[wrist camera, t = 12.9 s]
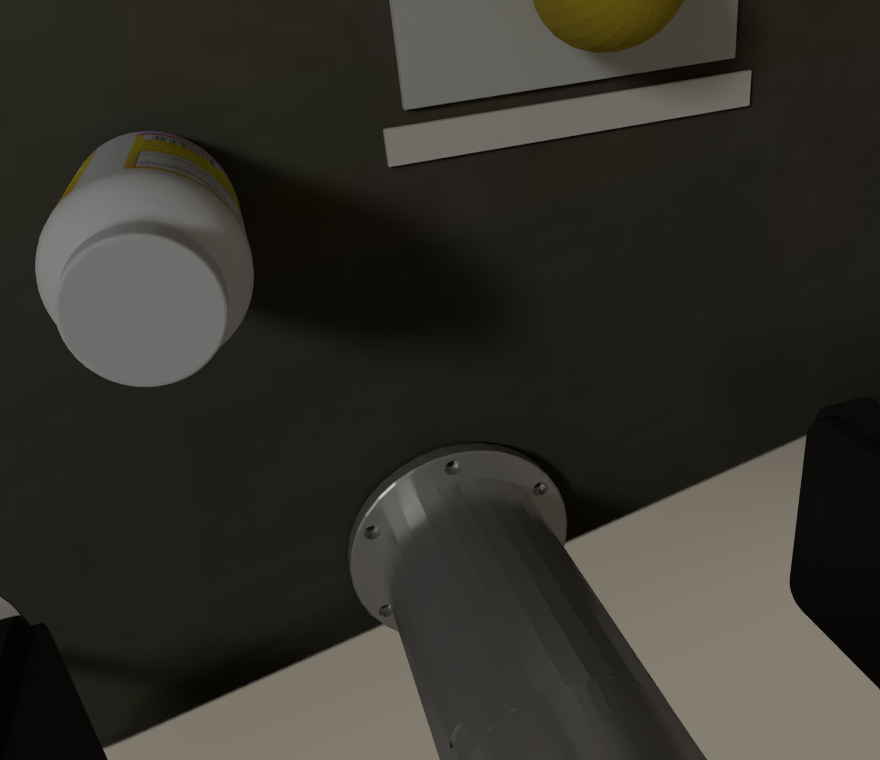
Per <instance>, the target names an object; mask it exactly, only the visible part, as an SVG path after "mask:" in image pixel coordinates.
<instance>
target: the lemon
mask: <svg viewBox="0 0 880 760" xmlns="http://www.w3.org/2000/svg"><path fill="white" fill-rule="evenodd" d="M683 2H684V0H533V3H534V7H535V9H536V11H537V13H538V15H539V17H540V19H541V21H542V22H543V24H544V25H545V26H546V27H547V28H548V29H549V30H550V31H551V32H552V34H553V35H554V36H555V37H557V38H558V39H560V40H562V41H563V42H565V43H566V44H568V45H570V46H571V47H574V48H577V49H581V50H585V51H589V52H593V53H604V52H618V51H622V50H625V49H628V48H631V47H633V46H636V45H639V44H641V43H644V42H645V41H647V40H648V39H650V38H651V37H653V36H654V35H656V34H657V33H659V32H660V31H661V30H662V29H663V28H664V27H665V26H666V25H667V24H668V23H669V22H670V21H671V20H672V18H673V17H674V16H675V15H676V13H677V12H678V10H679V8H680V7H681V5H682V3H683Z"/></svg>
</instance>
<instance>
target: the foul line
mask: <svg viewBox="0 0 880 760" xmlns="http://www.w3.org/2000/svg"><path fill="white" fill-rule="evenodd" d="M750 86H751V70H745V71H739V72H732V73H726V74H720V75H714V76H708V77H702V78H695V79H689V80H683V81H677V82H671V83H664V84H658V85H652V86H646V87H640V88H633V89H627V90H621V91H615V92H609V93H602V94H596V95H590V96H584V97H578V98H571V99H565V100H559V101H553V102H547V103H540V104H534V105H528V106H522V107H516V108H510V109H503V110H497V111H491V112H485V113H479V114H472V115H466V116H460V117H454V118H448V119H441V120H435V121H429V122H423V123H417V124H410V125H404V126H398V127H392V128H386V129H383V133H384V141H385V148H386V155H387V162H388V166H389V167H393V166H399V165H404V164H410V163H416V162H422V161H428V160H434V159H440V158H445V157H451V156H457V155H463V154H469V153H475V152H480V151H486V150H492V149H498V148H504V147H510V146H515V145H521V144H527V143H533V142H539V141H545V140H551V139H556V138H562V137H568V136H574V135H580V134H586V133H591V132H597V131H603V130H609V129H615V128H621V127H627V126H632V125H638V124H644V123H650V122H656V121H662V120H667V119H673V118H679V117H685V116H691V115H697V114H703V113H708V112H714V111H720V110H726V109H732V108H738V107H743V106H749V102H750Z"/></svg>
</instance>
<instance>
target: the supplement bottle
mask: <svg viewBox="0 0 880 760" xmlns="http://www.w3.org/2000/svg"><path fill="white" fill-rule="evenodd" d="M35 272H36V279H37V284H38V289H39V293H40V296H41V299H42V301H43V303H44V306H45V308H46V309H47V311H48V313H49V315H50V316H51V318H52V319H53V321H54V322H55V323H56V325H57V327H58V330H59V332H60V335H61V337H62V339H63V341H64V342H65V344H66V346H67V347H68V349H69V350H70V351H71V352H72V353H73V355H74V356H75V357H76V358H77V359H78V360H79V361H80V362H81V363H82V364H84V365H85V366H86V367H87V368H89V369H90V370H92V371H93V372H95V373H96V374H98V375H100V376H102V377H104V378H106V379H108V380H111V381H113V382H117V383H120V384H124V385H129V386H137V387H154V386H162V385H167V384H171V383H174V382H177V381H180V380H182V379H185V378H186V377H188V376H190V375H192V374H194V373H195V372H196V371H198V370H199V369H201V368H202V367H203V366H204V365H205V364H206V363H207V362H208V361H209V360H210V359H211V358H212V357H213V356H214V354H215V353H216V352H217V350H218V349H219V347H221V346H222V345H223V344H224V343H225V342H226V341H227V340H228V339H229V338H230V337H231V336H232V334H233V333H234V332H235V331H236V329H237V328H238V327H239V325H240V323H241V322H242V320H243V318H244V316H245V314H246V312H247V309H248V307H249V304H250V300H251V297H252V291H253V285H254V269H253V261H252V254H251V250H250V246H249V242H248V238H247V235H246V231H245V226H244V222H243V218H242V215H241V210H240V207H239V203H238V199H237V196H236V193H235V190H234V188H233V186H232V183H231V181H230V180H229V178H228V176H227V174H226V173H225V171H224V170H223V169H222V167H221V166H220V165H219V164H218V162H217V161H216V160H215V159H214V158H213V157H212V156H211V155H209V154H208V153H207V152H206V151H204V150H203V149H202V148H200V147H199V146H197V145H195V144H194V143H192V142H190V141H188V140H186V139H183V138H181V137H178V136H175V135H171V134H168V133H162V132H154V131H145V132H134V133H129V134H125V135H122V136H119V137H116V138H114V139H112V140H110V141H108V142H106V143H105V144H103V145H102V146H100V147H99V148H97V149H96V150H95V151H94V152H93V153H92V154H91V155H90V156H89V157H88V158H87V159H86V160H85V162H84V163H83V164H82V166H81V167H80V168H79V170H78V172H77V173H76V175H75V177H74V178H73V180H72V181H71V183H70V185H69V186H68V188H67V190H66V191H65V193H64V194H63V196H62V198H61V199H60V201H59V203H58V204H57V206H56V207H55V209H54V210H53V212H52V213H51V215H50V216H49V218H48V220H47V222H46V224H45V226H44V228H43V230H42V233H41V235H40V239H39V242H38V247H37V253H36V263H35Z"/></svg>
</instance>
